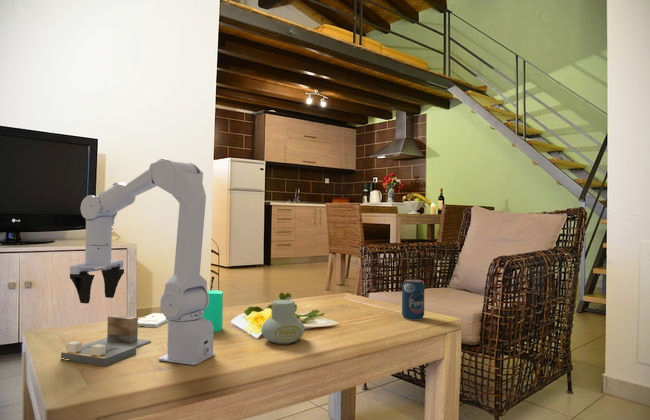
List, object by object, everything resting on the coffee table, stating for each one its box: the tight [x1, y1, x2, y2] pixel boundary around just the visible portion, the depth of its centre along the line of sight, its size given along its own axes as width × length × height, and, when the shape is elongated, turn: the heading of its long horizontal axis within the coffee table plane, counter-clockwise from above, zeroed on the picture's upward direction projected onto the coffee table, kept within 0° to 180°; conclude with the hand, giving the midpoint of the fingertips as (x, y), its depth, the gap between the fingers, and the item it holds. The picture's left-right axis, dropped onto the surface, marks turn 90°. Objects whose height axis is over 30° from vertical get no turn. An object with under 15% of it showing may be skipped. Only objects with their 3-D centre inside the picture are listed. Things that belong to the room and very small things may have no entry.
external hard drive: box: [138, 312, 168, 329], centre depth 130 cm, size 2×8×12 cm
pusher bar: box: [106, 314, 139, 344], centre depth 108 cm, size 7×2×6 cm, turn 72°
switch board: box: [60, 341, 137, 367], centre depth 98 cm, size 12×9×2 cm
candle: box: [202, 289, 224, 333], centre depth 122 cm, size 6×6×12 cm
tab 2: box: [91, 344, 106, 356], centre depth 94 cm, size 2×2×2 cm
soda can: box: [401, 278, 425, 321], centre depth 139 cm, size 7×7×12 cm
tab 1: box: [66, 340, 83, 353], centre depth 96 cm, size 2×2×2 cm
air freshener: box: [260, 299, 306, 345], centre depth 112 cm, size 11×8×10 cm
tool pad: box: [94, 337, 152, 349], centre depth 108 cm, size 12×6×1 cm, turn 72°
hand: (97, 300), depth 108 cm, fingers open, 7 cm apart
